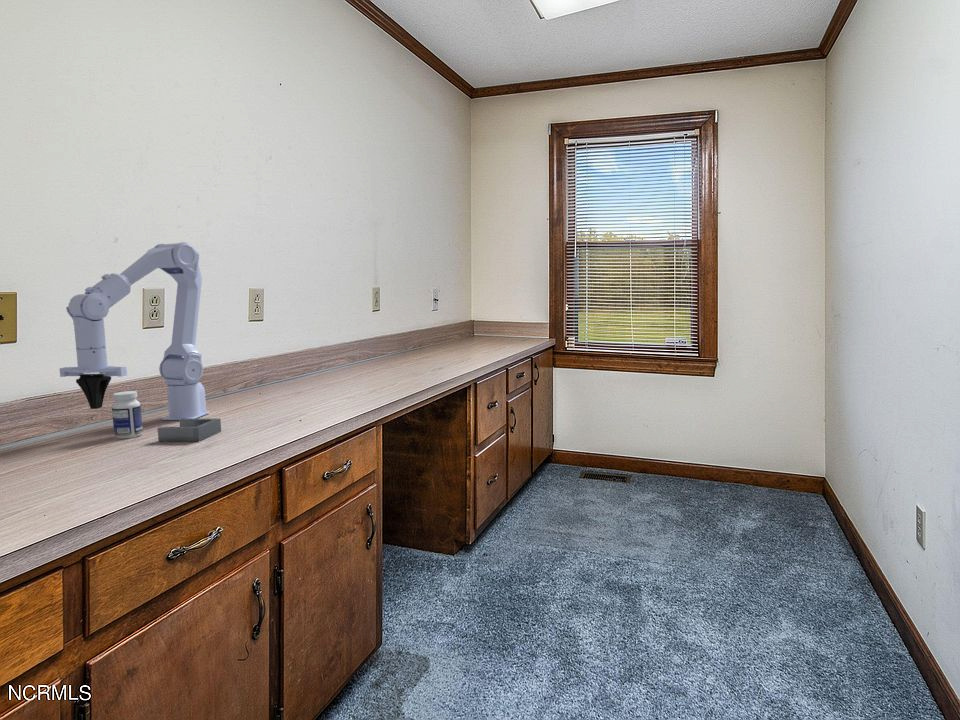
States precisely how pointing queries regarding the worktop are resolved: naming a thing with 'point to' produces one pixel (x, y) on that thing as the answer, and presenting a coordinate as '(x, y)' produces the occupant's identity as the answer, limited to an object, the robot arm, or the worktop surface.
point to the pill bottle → (126, 415)
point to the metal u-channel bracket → (190, 430)
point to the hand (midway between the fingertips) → (96, 408)
